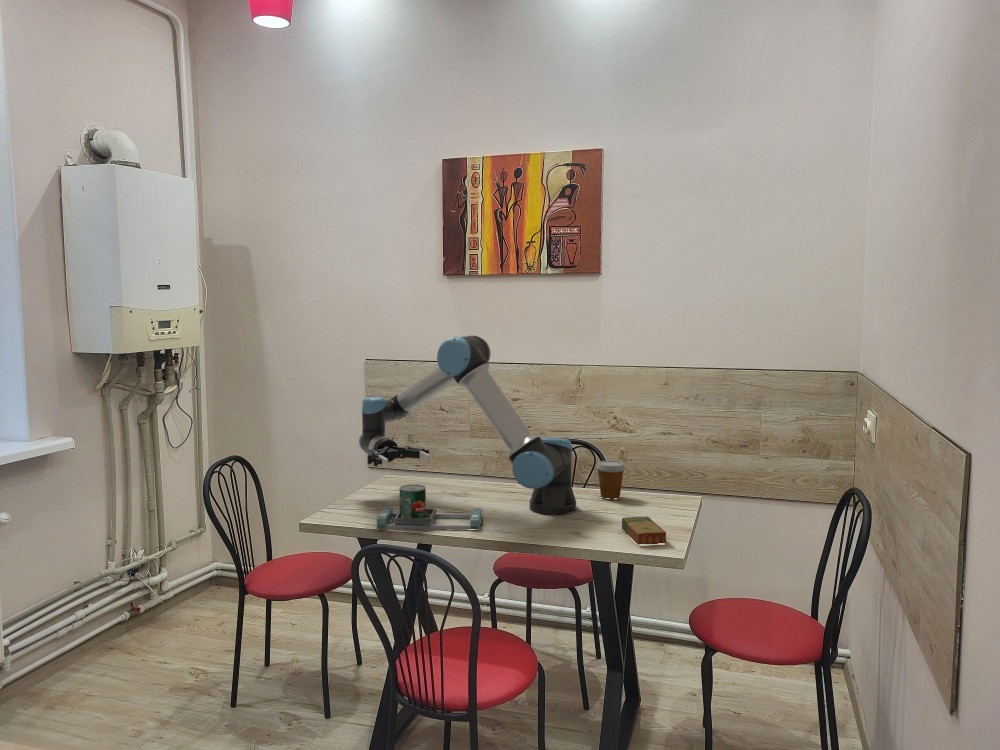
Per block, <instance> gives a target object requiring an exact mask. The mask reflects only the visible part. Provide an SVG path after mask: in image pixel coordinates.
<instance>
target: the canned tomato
mask: <svg viewBox="0 0 1000 750" xmlns="http://www.w3.org/2000/svg"><path fill="white" fill-rule="evenodd" d="M426 488H427V487H426V486H425V485H422V484H405V485H401V486H399V510H400V518H426V509H427V503H426V501H427V500H426V499H427V498H426V497H427V495H426V494H427V493H426V491H427V490H426Z"/></svg>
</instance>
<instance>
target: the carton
mask: <svg viewBox="0 0 1000 750" xmlns="http://www.w3.org/2000/svg"><path fill="white" fill-rule="evenodd" d="M622 529H623V530H624V531H625V532H626V533H627V534H628V535H629V536H630V537H631V538H632V539H633V540H634V541H635V542H636V543H637V544H638V545H639V544H658V543H666V544H667V532H666V530H664V529H663V528H661V526H660V525H658V524H657V523H656V522H655V521H654V520H652V518H650V516H627V517H622V519H621V530H622ZM623 530H622V531H623ZM624 531H623V532H624ZM625 532H624V533H625ZM626 533H625V534H626Z"/></svg>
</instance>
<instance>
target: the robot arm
mask: <svg viewBox="0 0 1000 750" xmlns="http://www.w3.org/2000/svg"><path fill="white" fill-rule="evenodd" d="M490 359H491V348H490V346H489V344H488V342H487V341H486V340H485V339H484V338H482V337H480V336H478V335H467V336H453V337H451V338H448V339H446V340H444V341H443V342H442V343H441V345H440V346H438V349H437V355H436V361H437V367H435V368H433V369H432V370H431V371H429V372H428V373H426V374H425V375H423V376H421V377H420V378H419V379H418V380H416V381H415V382H412V383H411V384H410V385H408V386H407V387H405V388H403V390H401V391H400V392H398V393H397V394H396V395H394V396H393V397H391V398H389V399H385V398H384V397H382V396H368V397H364V398H363V399H362V407H361V415H362V416H361V419H362V420H361V421H362V422H361V423H362V432H361V434H360V435H359V439H358V446H359V447H360V449H361V450H362V451H363V452H365V453H366V454H367V456H366V457H367V465H372V463H373V467H378V465H379V466H381V467H382V468H384V469H389V463H390V462H393V461H394V460H396V459H401V460H402V459H407V458H409V459H417V460H418V459H419V461H421V462H423V463H425V464H427V465H430V464H431V454H430V449H426V448H424V447H423V448H419V447H413V446H410V445H409V446H408V445H406V446H404V447H403V446H399V445H398V443H397V442H396V441H394V440H393V439H391V438H389V437H387V436H386V423H389V422H390V423H391V422H395V421H399V420H403V418H404V419H405V418H406V417H407V416H408V415H409V414H410V412H412V411H413V410H414V409H416V408H417V407H419V406H421V405H422V404H424V403H425V402H427V401H428V400H430V399H431V398H433V397H434V396H436V395H437V394H439V393H441V392H442V391H443V390H445V389H446V388H448V387H449V386H451V385H452V384H454V383H455V382H456V384H457V385H458V387H462V388H465V389H466V390H467V391H468V393H469V394H470V396H471V397H472V399H473V400H474V402H476V404H477V406H478V407H479V408H480V410H481V411H482V413H483V415H484V416H485V418H486V419H487V420H488V421H489V423H490V425H491V426H492V428H493V429H494V431H495V433H496V434H497V435H498V436H499V438H500V439H501V440H502V442H503V444H504V445H505V446H506V448H507V450H508V454H507V455H508V456H507V458H508V460H509V461H510V462H511V464H512V469H511V470H512V474H513V477H514V479H515V480H516V482H517V483H518V484H519V485H521V486H522V487H524V488H526V489H531V490H532V493H531V496H530V499H529V509H530V510H531V511H532V512H534V513H537V514H542V515H565V513H567V514H570V512H571V513H573V512H572V511H574V510H575V509H576V510H577V499H576V497H575V494H574V489H573V487H572V462H573V461H572V458H573V456H572V455H573V448H572V441H571V440H570V439H567V438H561V437H545V436H543V437H540V435H537V434H533V433H532V432H531V431H530V430H529V427H527V425H526V424H525V422H524V421H523V420H522V418H521V416H520V415H519V414H518V412H517V411H516V410H515V408H514V407H513V405H512V404H511V402H510V400H508V398H507V396H506V395H505V393H504V392H503V391H502V389H501V388H500V386H499V385H498V384H497V382H496V381H495V379H494V378H493V376H492V375H491V374H490V372H489V369H490V363H489V361H490ZM576 510H575V511H576ZM575 511H574V512H575Z"/></svg>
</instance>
